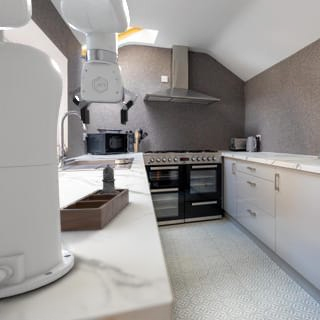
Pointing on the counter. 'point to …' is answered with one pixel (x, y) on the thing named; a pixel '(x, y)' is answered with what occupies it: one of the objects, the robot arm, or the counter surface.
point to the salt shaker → (108, 181)
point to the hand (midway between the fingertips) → (105, 124)
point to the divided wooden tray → (93, 210)
